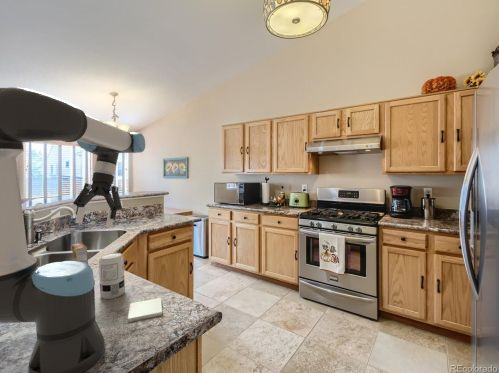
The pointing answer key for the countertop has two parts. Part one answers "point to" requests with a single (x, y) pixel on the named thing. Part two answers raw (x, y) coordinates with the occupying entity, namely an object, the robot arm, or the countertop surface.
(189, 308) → the countertop surface
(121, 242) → the countertop surface
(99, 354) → the robot arm
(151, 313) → the white square coaster
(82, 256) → the candy box
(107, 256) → the supplement can
